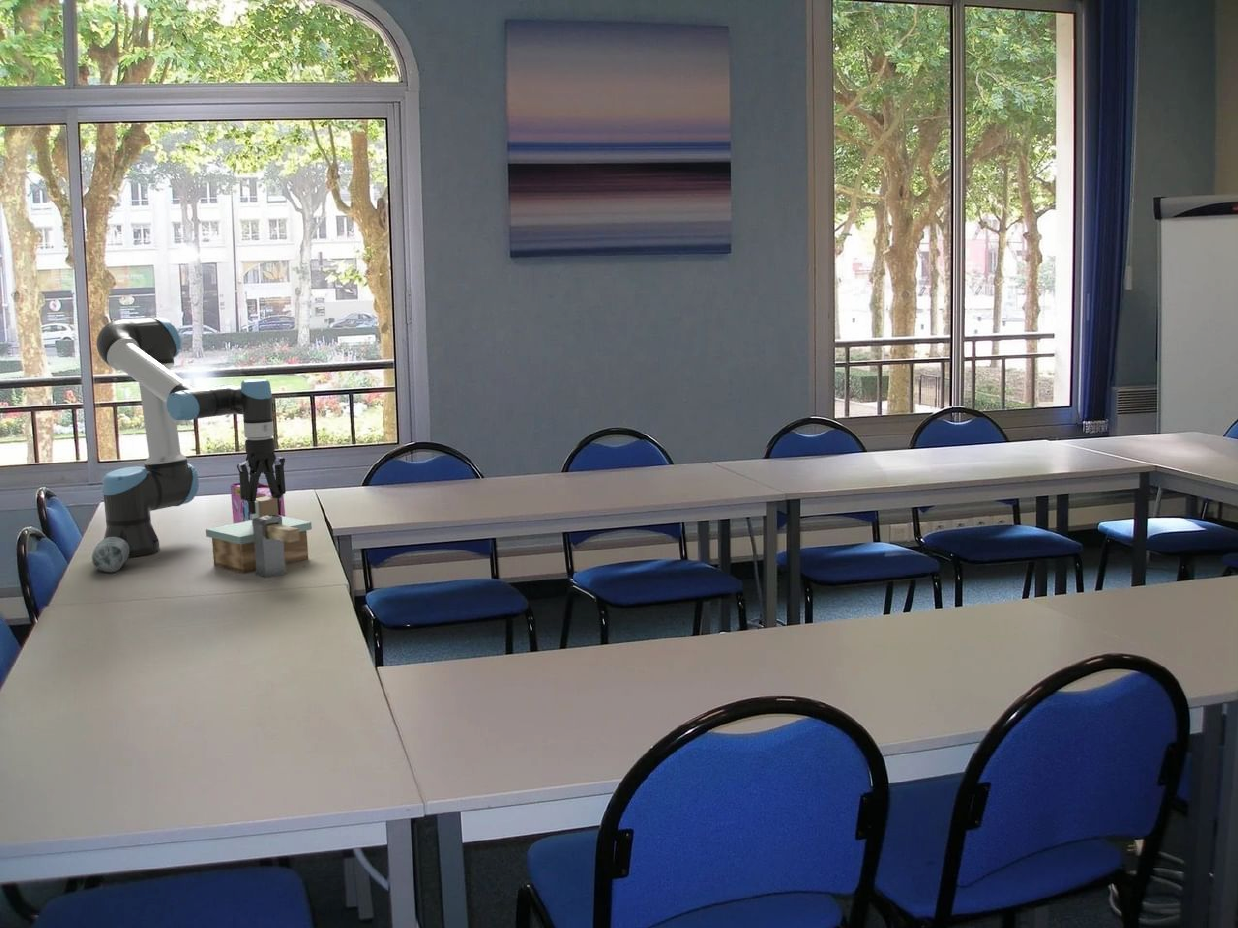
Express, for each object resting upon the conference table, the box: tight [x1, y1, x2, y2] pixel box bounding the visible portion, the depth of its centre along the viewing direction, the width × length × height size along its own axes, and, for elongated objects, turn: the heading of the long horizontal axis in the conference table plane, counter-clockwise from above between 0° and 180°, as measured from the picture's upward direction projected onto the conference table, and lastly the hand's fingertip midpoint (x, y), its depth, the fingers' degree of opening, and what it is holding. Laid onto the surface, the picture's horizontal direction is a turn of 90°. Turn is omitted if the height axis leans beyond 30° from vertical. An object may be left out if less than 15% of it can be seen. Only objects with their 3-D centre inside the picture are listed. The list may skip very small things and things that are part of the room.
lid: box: [205, 496, 313, 545], centre depth 330 cm, size 16×22×9 cm
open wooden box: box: [211, 530, 309, 574], centre depth 332 cm, size 14×20×8 cm
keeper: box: [253, 515, 286, 579], centre depth 317 cm, size 4×6×15 cm, turn 140°
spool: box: [91, 537, 130, 573], centre depth 328 cm, size 14×10×10 cm
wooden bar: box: [265, 523, 299, 542], centre depth 314 cm, size 15×3×3 cm, turn 50°
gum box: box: [230, 482, 286, 524], centre depth 369 cm, size 24×8×14 cm, turn 38°
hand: (265, 523), depth 332 cm, fingers closed on lid, 5 cm apart
